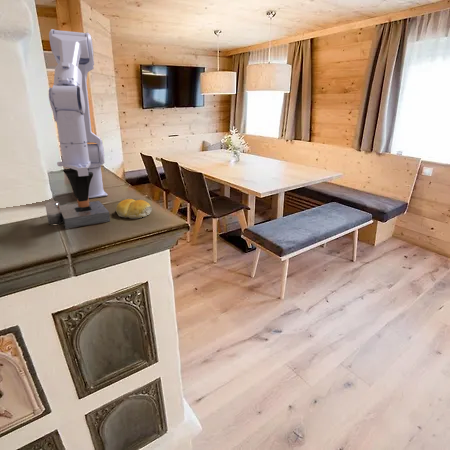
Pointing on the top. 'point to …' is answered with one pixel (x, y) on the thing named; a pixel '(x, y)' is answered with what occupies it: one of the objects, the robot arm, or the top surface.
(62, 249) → the top surface
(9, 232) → the top surface
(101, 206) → the slotted grey box
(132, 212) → the bread roll
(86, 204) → the sausage
